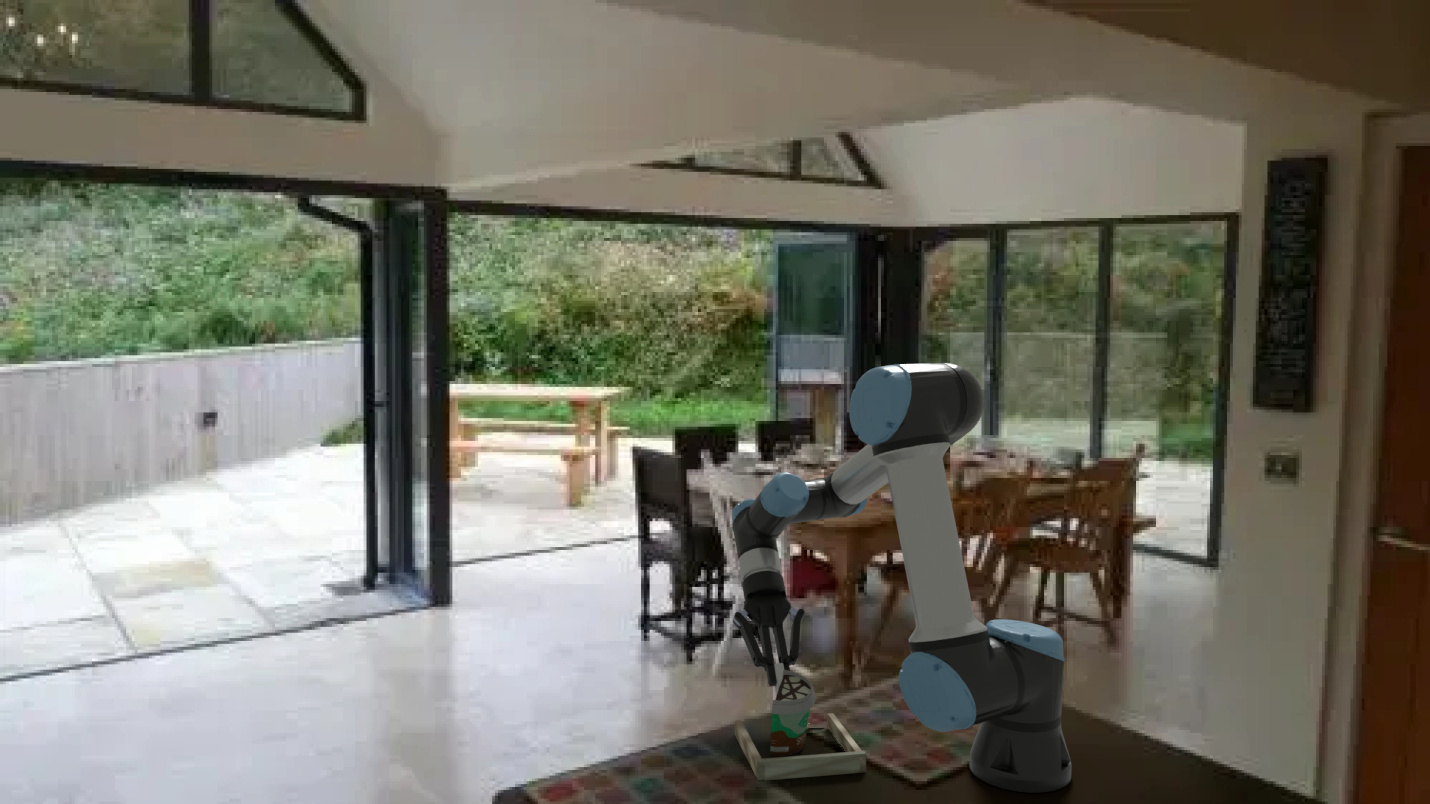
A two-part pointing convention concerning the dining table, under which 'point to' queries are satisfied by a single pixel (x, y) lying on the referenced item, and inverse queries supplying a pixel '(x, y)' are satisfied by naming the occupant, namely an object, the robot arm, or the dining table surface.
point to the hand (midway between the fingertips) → (783, 702)
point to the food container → (791, 714)
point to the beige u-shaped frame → (805, 757)
